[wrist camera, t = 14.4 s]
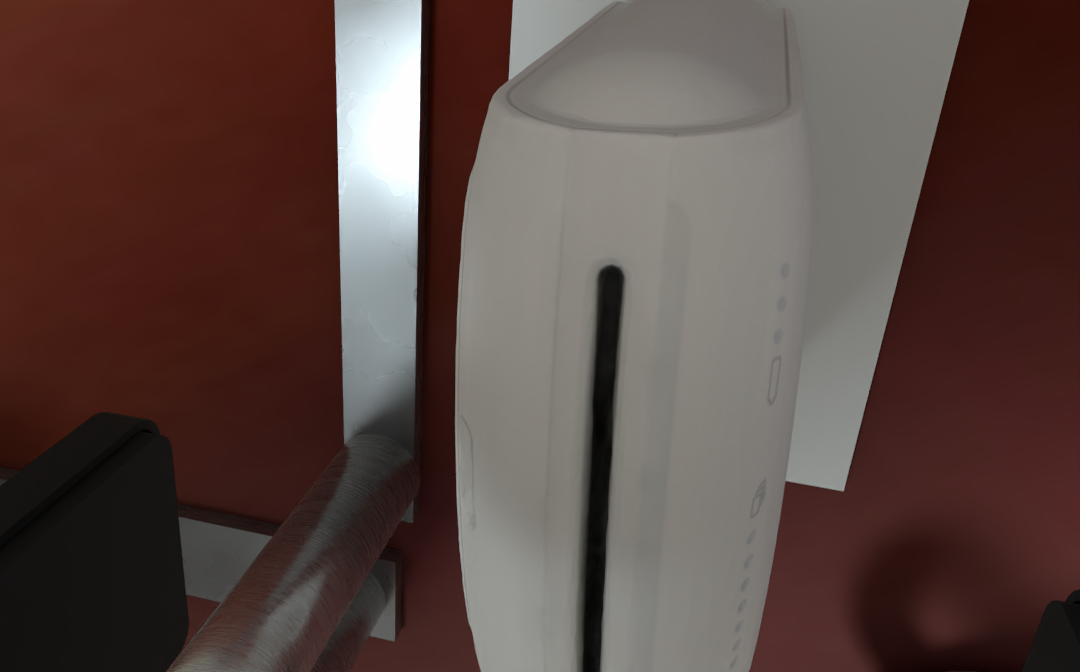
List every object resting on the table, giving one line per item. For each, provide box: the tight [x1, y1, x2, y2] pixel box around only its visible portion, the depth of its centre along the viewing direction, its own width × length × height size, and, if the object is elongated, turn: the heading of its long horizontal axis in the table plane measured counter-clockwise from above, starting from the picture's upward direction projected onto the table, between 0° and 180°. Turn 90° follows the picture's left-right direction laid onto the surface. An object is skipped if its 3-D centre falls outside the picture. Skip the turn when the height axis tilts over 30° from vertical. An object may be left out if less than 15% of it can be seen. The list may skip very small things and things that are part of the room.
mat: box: [509, 0, 969, 491], centre depth 21 cm, size 13×9×1 cm
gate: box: [167, 0, 430, 672], centre depth 17 cm, size 20×2×14 cm, turn 176°
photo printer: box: [455, 0, 814, 672], centre depth 16 cm, size 10×4×12 cm, turn 179°
